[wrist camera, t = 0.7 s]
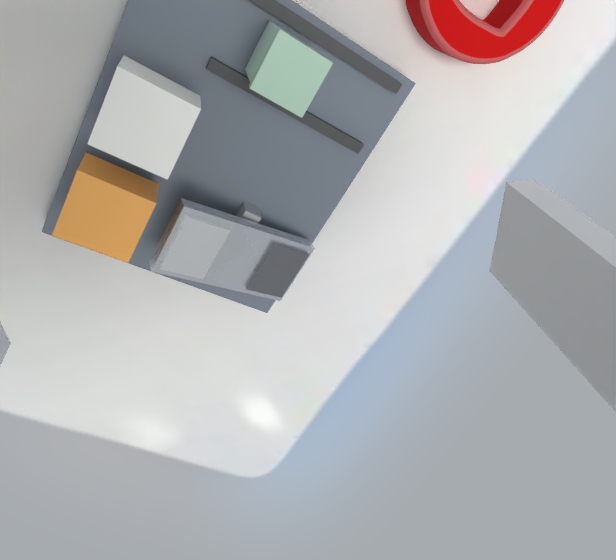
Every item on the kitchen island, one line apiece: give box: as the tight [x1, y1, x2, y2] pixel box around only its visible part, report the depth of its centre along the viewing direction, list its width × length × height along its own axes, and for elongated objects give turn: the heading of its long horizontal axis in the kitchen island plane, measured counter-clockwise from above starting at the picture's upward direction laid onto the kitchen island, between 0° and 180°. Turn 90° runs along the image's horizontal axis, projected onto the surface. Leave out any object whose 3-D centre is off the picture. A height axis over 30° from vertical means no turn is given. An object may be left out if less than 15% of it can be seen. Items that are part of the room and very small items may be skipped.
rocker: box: [149, 198, 314, 301], centre depth 34 cm, size 10×5×1 cm, turn 60°
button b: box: [87, 56, 201, 180], centre depth 28 cm, size 4×4×3 cm
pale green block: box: [245, 20, 333, 118], centre depth 28 cm, size 3×3×5 cm
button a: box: [52, 152, 159, 263], centre depth 30 cm, size 4×4×3 cm
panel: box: [42, 0, 415, 313], centre depth 33 cm, size 17×20×4 cm
